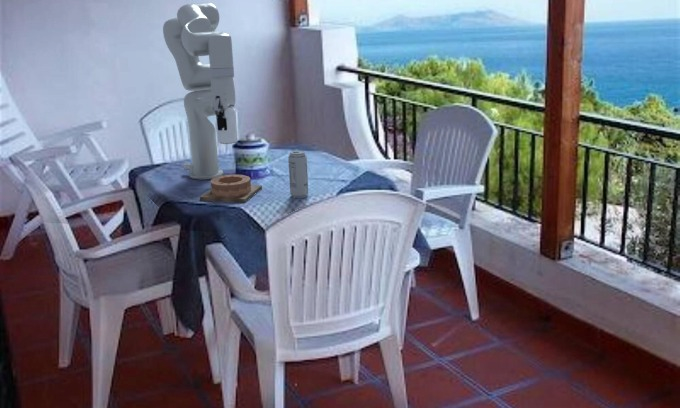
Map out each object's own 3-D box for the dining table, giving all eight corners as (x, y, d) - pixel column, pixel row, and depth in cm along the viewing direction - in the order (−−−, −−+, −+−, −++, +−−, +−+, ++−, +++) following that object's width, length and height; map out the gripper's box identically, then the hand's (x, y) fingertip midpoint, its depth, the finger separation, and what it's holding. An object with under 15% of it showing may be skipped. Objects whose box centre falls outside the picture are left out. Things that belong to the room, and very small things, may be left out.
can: (218, 140, 245) (216, 104, 242) (238, 139, 246) (235, 103, 242) (217, 144, 239) (214, 108, 236) (237, 143, 240) (234, 107, 236)
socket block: (199, 200, 243) (198, 185, 241) (219, 187, 258) (217, 172, 256) (245, 202, 239) (244, 187, 237) (261, 188, 254) (261, 174, 252)
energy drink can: (309, 197, 242) (307, 153, 237) (291, 199, 241) (289, 154, 236) (306, 192, 247) (304, 149, 243) (289, 194, 246) (286, 150, 242)
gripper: (221, 69, 245) (225, 122, 250) (200, 76, 229) (205, 133, 234) (242, 69, 243) (246, 123, 248) (222, 76, 227) (227, 134, 233)
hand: (226, 127), depth 241 cm, fingers closed on can, 5 cm apart
